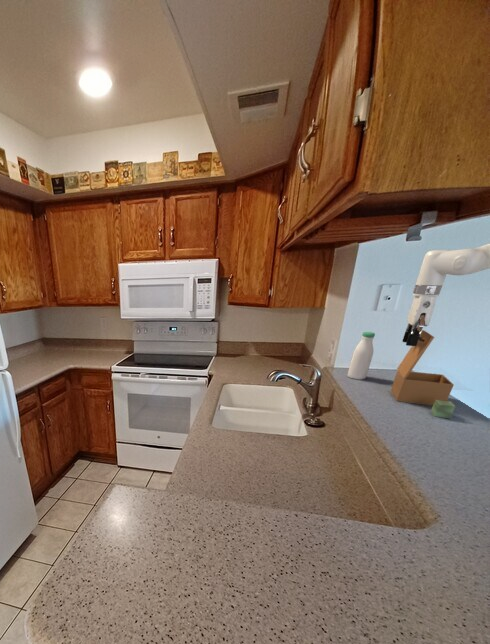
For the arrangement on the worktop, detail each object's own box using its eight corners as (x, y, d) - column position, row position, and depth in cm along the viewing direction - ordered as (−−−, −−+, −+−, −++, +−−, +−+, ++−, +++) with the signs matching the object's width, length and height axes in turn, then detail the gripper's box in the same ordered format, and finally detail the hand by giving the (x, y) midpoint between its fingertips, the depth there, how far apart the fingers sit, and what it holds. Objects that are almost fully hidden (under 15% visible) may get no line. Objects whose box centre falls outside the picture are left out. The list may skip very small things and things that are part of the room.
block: (445, 413, 116) (451, 401, 114) (450, 418, 112) (455, 406, 110) (430, 411, 118) (435, 399, 115) (434, 416, 114) (439, 404, 112)
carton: (434, 395, 131) (442, 374, 127) (444, 406, 121) (453, 384, 117) (390, 390, 136) (397, 370, 132) (396, 400, 126) (404, 379, 122)
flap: (424, 330, 123) (410, 326, 124) (434, 337, 113) (418, 332, 114) (398, 369, 132) (385, 365, 133) (405, 378, 122) (391, 374, 123)
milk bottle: (367, 380, 147) (380, 335, 137) (348, 378, 149) (360, 333, 140) (364, 375, 153) (377, 331, 143) (346, 373, 155) (358, 330, 146)
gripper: (448, 293, 105) (427, 350, 113) (432, 289, 119) (415, 340, 127) (420, 292, 107) (402, 348, 116) (408, 288, 121) (392, 338, 130)
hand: (409, 343), depth 121 cm, fingers closed on flap, 5 cm apart
